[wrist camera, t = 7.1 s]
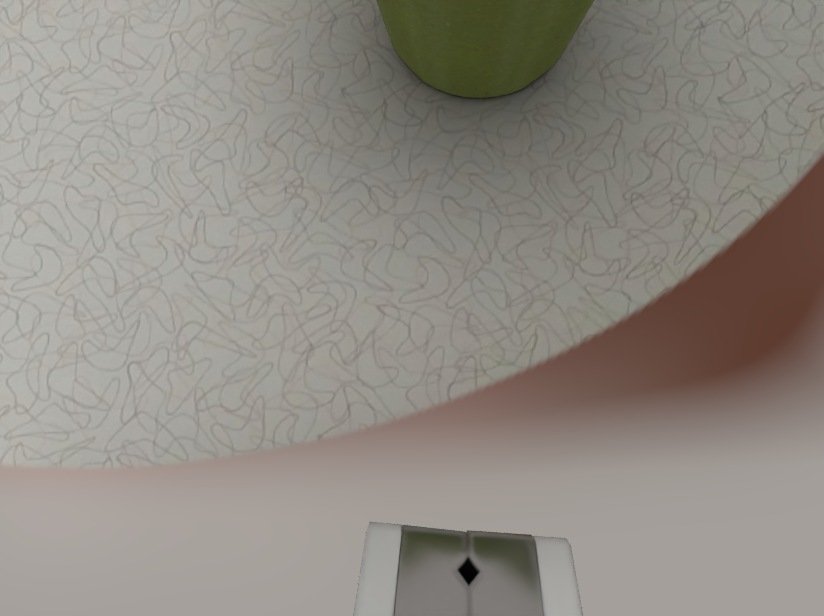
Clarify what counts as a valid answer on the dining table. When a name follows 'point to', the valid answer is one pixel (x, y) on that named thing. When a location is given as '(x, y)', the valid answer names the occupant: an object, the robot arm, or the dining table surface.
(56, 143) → the dining table surface
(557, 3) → the plant pot
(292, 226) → the dining table surface
